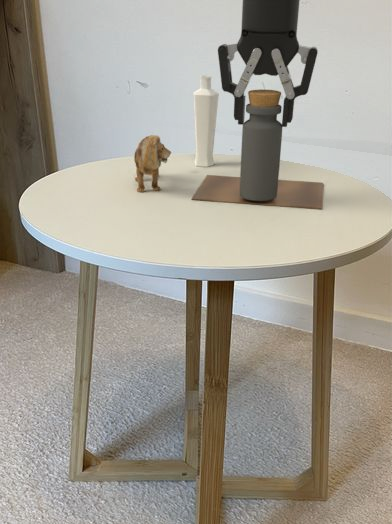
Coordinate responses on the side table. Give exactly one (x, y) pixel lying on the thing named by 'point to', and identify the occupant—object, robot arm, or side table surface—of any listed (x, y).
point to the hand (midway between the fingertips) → (262, 124)
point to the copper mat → (287, 196)
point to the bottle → (261, 146)
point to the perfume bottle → (205, 121)
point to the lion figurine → (150, 160)
